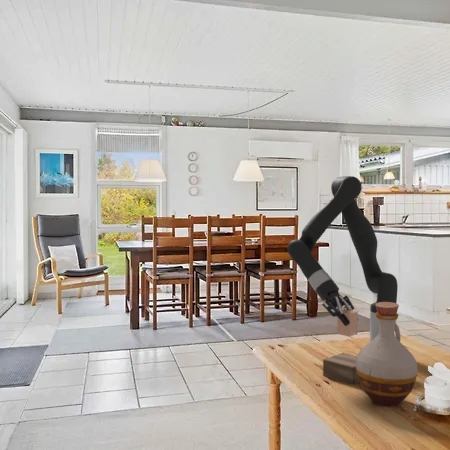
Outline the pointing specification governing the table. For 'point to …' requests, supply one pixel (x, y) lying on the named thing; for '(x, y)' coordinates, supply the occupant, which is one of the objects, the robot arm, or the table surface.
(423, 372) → the table surface
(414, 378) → the jug
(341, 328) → the terracotta block
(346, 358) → the walnut block
